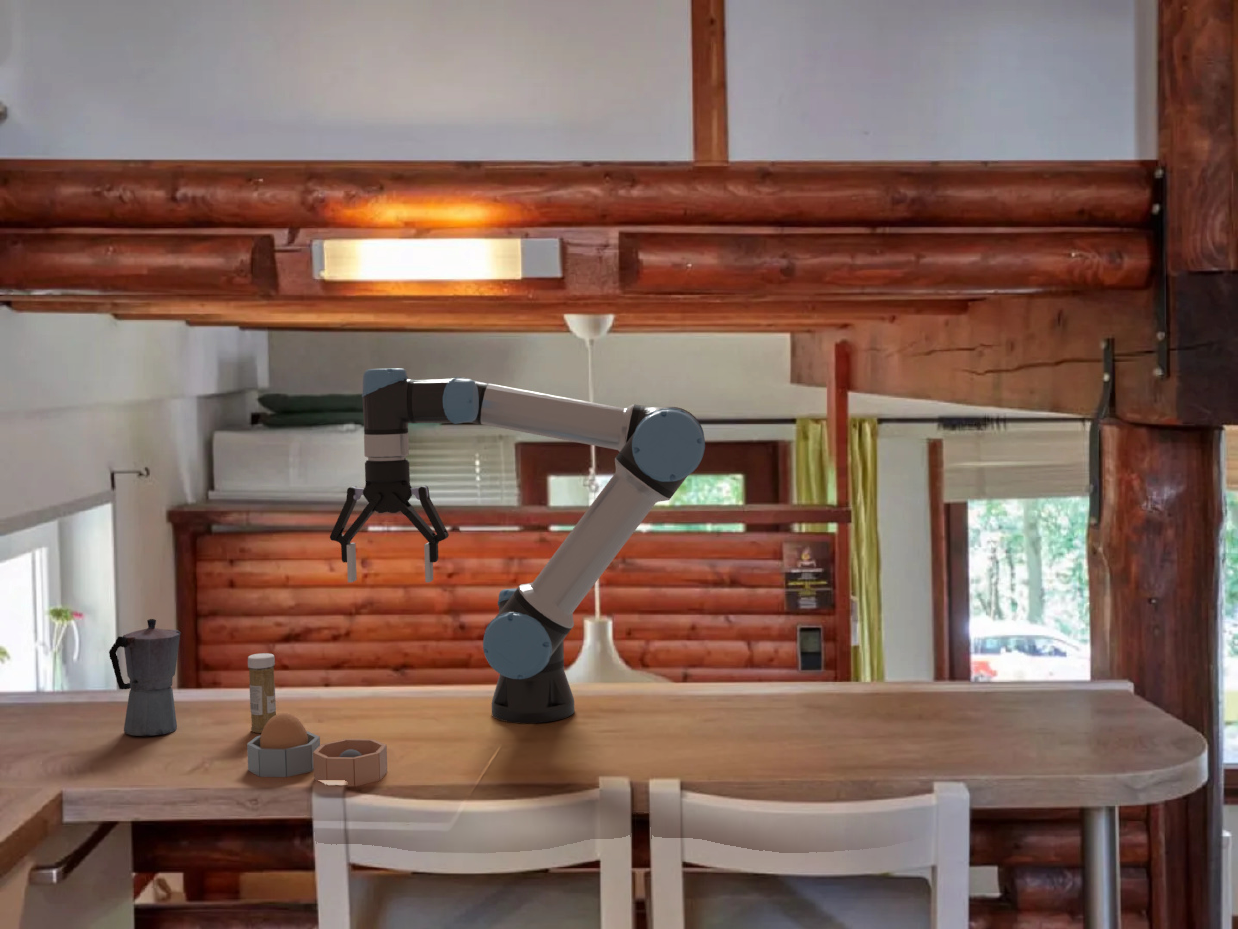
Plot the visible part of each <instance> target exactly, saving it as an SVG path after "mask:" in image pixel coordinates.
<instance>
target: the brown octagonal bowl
mask: <svg viewBox="0 0 1238 929" xmlns="http://www.w3.org/2000/svg"><path fill="white" fill-rule="evenodd" d="M349 749H353V750H356V751H358V752H360V753H361V755H362V756H357V757H339V756H340V754H341V753H342V752H344V751H346V750H349ZM387 750H388V746H387V744H386V743H383V742H381V741H379V740H377V739H374V738H345V739H339V740H336V741H331V742H330V741H329V742H326V743H322V744H321V743H320V746H319V747H318V748H317V749H316V750H315V751H314V752H313V764H314V770H313V780H314V781H317V782H318V780H345V781H347V782H348V786H347V787H359V786H362V785H366V784H370V783H374V782H375V783H376V782H378V781H381V780H382V779H383V777H385V775H386V774H387V773H388V751H387Z"/></svg>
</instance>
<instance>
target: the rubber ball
mask: <svg viewBox="0 0 1238 929" xmlns="http://www.w3.org/2000/svg"><path fill="white" fill-rule="evenodd" d="M357 756H362V755H361V753H360V752H358V751H356V750H353V749H349V750H346V751H344V752H342V753H341V754H340V756H339V757H357Z"/></svg>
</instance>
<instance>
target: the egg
mask: <svg viewBox="0 0 1238 929" xmlns="http://www.w3.org/2000/svg"><path fill="white" fill-rule="evenodd" d="M306 731H307V730H306V727H305V726H304V724H303V723H302V721H301V720H300V719H299V718H298V717H297V716H295V715H294V714H291V713H288V712H282V713H278V714H277V713H276V715H275V716H274V717H272V718H271V719H270V720H269V721H268V722H267V723H266V725H265V727H264V729H263V731H262V733H260V735H261V738H260V748H263V749H287V748H291V747H296V746H301V745H305V744H308V736H307V732H308V731H307V732H306Z"/></svg>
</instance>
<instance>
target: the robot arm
mask: <svg viewBox="0 0 1238 929" xmlns="http://www.w3.org/2000/svg"><path fill="white" fill-rule="evenodd" d="M407 375H408V374H407V369H404V368H402V367H400V368H399V367H398V368H369V369H367V370H365V371H364V373H363V375H362V394H361V398H362V414H363V433H364V434H363V444H364V445H363V447H364V452H363V453H364V457H366V458H367V460H365V462H364V474H365V475H364V480H365V486H364V488H363V487H357V486H356V485H352V486H351V487H348V488H347V490H346V500H345V502H344V504H343V506H342V509H341V511H340V513H339V515H338V518H337V520H336V522H335V524H334V526H333V529H332V531H331V533H330V535H329V539H330V540H331V541H334V542H337V543H339V544H340V548H341V549H340V551H341V561H342V563H346V566H347V569H346V570H347V583H354V582H356V581H357V579H358V577H357V551H356V550H357V548H356V547H357V546H356V544H357V543H356V542H352V541H353V539H354V538H355V536H356V535H357V534H358V533H359V531H360V530H361V528H362V527H363V526H364V525H365V524H366V522H368V520H369V519H370V517H371V516H372V515H373V514H374V513H375V512H377V513H378V514H384V513H389V514H390V513H391V514H396V513H399V512H401V513H402V514H403V515H404V516H405V517H406V518H407V519H408V520H409V521H410V522H411V524H412V525H413V526H414V527H415V528H416V529H417V531H419V533H420V534H421V535H422V536H423V538H424V539H426V541H427V543H425V544H424V545H423V546H424V547H423V548H424V549H423V550H424V551H423V552H424V577H425V578H424V581H425V583H431V582H432V581H434V563H437V562H438V561H439V543H440V542H442V541H445V540H446V539H448V538H449V535H450V534H449V532H448V530H447V528H446V526H445V524H444V522H443V521H442V518H441V517H440V515H439V513H438V511H437V509H436V507H435V505H434V503H433V501H432V500H431V498H430V497H431V496H430V489H429V486H427V485H422V486H419V487H418V486H417V487H412V486H411V481H410V480H411V479H410V473H411V472H410V460H409V459H408V458H406V457H408V456H409V455H410V447H409V446H410V444H409V441H410V438H409V424H455V425H458V424H463V423H471V424H476V425H484V426H489V427H496V428H500V429H505V430H510V431H515V432H521V433H526V434H532V435H537V436H541V437H547V438H552V439H558V440H563V441H569V442H573V443H579V444H584V445H591V446H596V447H601V448H606V449H611V450H616V451H618V452H619V453H618V454H617V455H616V456H615V458H614V463H615V473H614V474H613V475H612V477H611V478H610V479H609V481H608V482H607V483H606V484H605V486H604V487H603V488H602V490H601V491H600V492H599V494H598V495H597V496H596V498H595V499H594V500H593V502H592V503H591V504H590V506H589V507H588V508H587V510H586V511H585V513H584V514H583V515H582V516H581V517H580V519H579V520H578V522H577V523H576V524H575V526H573V528H572V529H571V531H570V532H569V533H568V535H567V536H566V538H565V540H563V542H562V543H560V546H559V547H558V548H557V550H556V551H555V552H554V553H553V555H552V557H551V558H550V559H549V560H548V561H547V562H546V564H545V565H544V567H543V568H542V570H541V571H540V572H539V573H538V575H537V576H536V577H535V579H534V580H533V582H529V583H523V584H522V583H521V584H520V585H518V587H517V588H505V589H501V590H500V591H499V593H498V601H497V606H498V614H497V615H496V616H495V617H494V618H493V619H492V620H490V621H489V623H488V624H487V626H486V628H485V630H484V633H483V638H482V639H483V641H482V649H483V654H484V657H485V659H486V661H487V662H488V664H489V666H490V667H491V668H492V669H493V670H494V671H495V672H496V673H498V674H499V676H498V679H497V683H496V686H495V690H494V693H493V696H492V699H491V716H492V717H494V718H495V719H497V720H498V721H504V722H507V723H508V722H509V723H514V724H515V723H517V724H539V723H548V722H549V723H550V722H555V721H559V720H562V719H563V720H564V719H567V718H568V717H570V716H572V715H573V714H574V713H575V698H574V695H573V691H572V688H571V687H570V683H569V681H568V680H569V679H568V677H567V675H566V671H565V652H564V650H565V649H564V641H565V638H566V637H567V635H568V634H570V631H571V630H572V629H573V627H574V626H575V622H574V615H573V614H574V612H575V610H576V609H577V608H578V606H579V605H580V604H581V602H582V601H583V599H584V598H585V597H586V596H587V595H588V593H589V592H590V590H591V589H592V588H593V587H594V586H595V584H596V582H598V580H599V579H600V577H601V576H602V575H603V573H604V572H605V571H606V570H607V568H608V566H610V564H611V563H612V562H613V560H614V559H616V556H617V555H618V553H619V552H620V551H621V549H622V548H623V547H624V546H625V544H626V543H627V542H628V540H630V538H631V537H632V535H633V534H634V533H635V531H636V530H637V529H638V527H639V526H640V525H641V524H642V523H643V521H644V519H645V518H646V517H647V516H648V515H649V513H650V512H651V510H652V509H653V507H654V506H655V505H656V504H657V503H659V502H666V501H670V500H671V499H672V497H673V496H674V495H675V493H676V492H677V491H678V489H680V487H681V485H682V484H683V483H684V482H685V480H686V479H687V477H688V476H690V474H693V472H694V471H695V470H696V469H697V468H698V467H699V465H700V463H701V461H702V459H703V457H704V454H705V449H706V442H705V434H704V429H703V427H702V424H701V423H700V421H699V420H698V419H697V417H696V416H695V415H693V414H692V412H690V411H688V410H686V409H685V408H681V407H678V406H650V405H649V406H647V405H639V404H635V403H632V404H630V405H629V406H627V407H621V406H620V407H619V406H615V405H609V404H605V403H597V402H594V401H593V402H591V401H588V400H581V399H577V398H571V397H565V396H560V395H553V394H548V393H544V392H538V391H534V390H533V391H532V390H529V389H527V390H526V389H521V388H516V387H510V386H506V385H499V384H495V383H487V382H482V381H479V380H478V381H477V380H473V379H471V378H468V377H463V376H454V377H451V378H439V379H438V378H433V379H430V378H429V379H411V378H409V377H408V376H407ZM362 496H363V497H364V498H365V499H366V501H367V503H368V504H366V506H365V507H364V508H363V510H362V512H360V514H359V515H358V517H356V519H355V520H354V521H353V523H352V524H351V525H350V527H349V528H348V529H347V530H346V532H344V531H345V528H346V526H347V524H348V522H349V519H350V517H351V515H352V513H353V512H354V511H353V510H354V508H355V507H356V504H357V501H358V500H360V499H361V498H362ZM412 496H415V499H417V500H419V501H420V504H421V507H422V509H423V511H424V512H425V514H426V516H427V518H428V520H429V522H430V524H431V526H432V528H433V529H432V528H431V527H430V526H429V525H428V523H426V521H425V520H424V519H423V518H422V516H420V515H419V514H420V513H418V512H417V511H416V509H415V508H414V507H413V505H412V504H411V502H410V499H411V498H412ZM434 531H435V532H434ZM343 532H344V534H343Z"/></svg>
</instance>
